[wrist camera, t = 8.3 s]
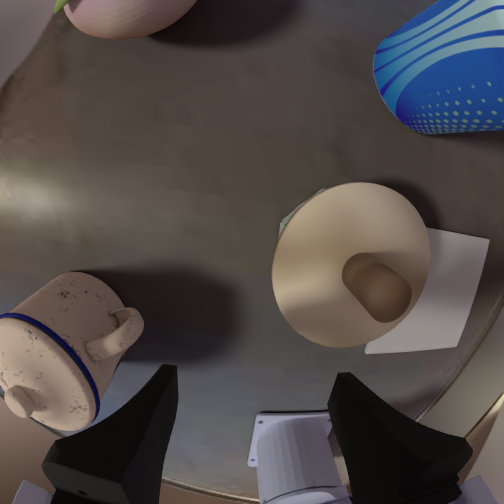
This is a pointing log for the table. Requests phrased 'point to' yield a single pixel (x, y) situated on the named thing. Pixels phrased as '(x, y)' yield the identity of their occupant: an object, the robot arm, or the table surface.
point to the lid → (350, 264)
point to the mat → (440, 296)
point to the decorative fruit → (123, 16)
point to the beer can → (446, 68)
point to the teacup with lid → (64, 350)
